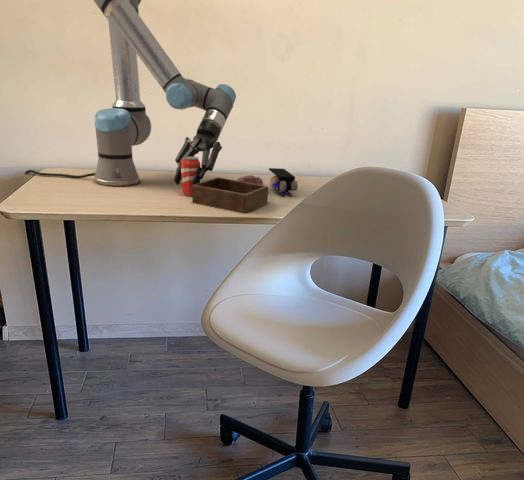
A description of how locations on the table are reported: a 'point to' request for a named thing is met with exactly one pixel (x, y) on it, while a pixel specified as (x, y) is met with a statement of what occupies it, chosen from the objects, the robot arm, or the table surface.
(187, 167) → the beverage can
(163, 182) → the table surface
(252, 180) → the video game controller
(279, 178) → the figurine character
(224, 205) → the brown wooden box
